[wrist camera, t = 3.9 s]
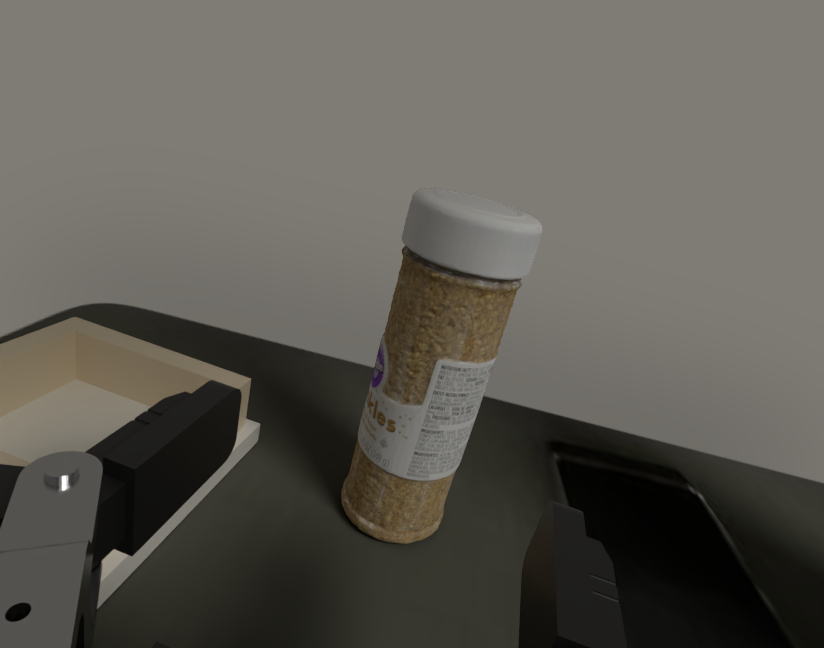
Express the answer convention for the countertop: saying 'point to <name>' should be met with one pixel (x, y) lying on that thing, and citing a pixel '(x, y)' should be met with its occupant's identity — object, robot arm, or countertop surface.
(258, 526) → the countertop surface
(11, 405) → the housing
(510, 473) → the countertop surface
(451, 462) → the sprinkles bottle
